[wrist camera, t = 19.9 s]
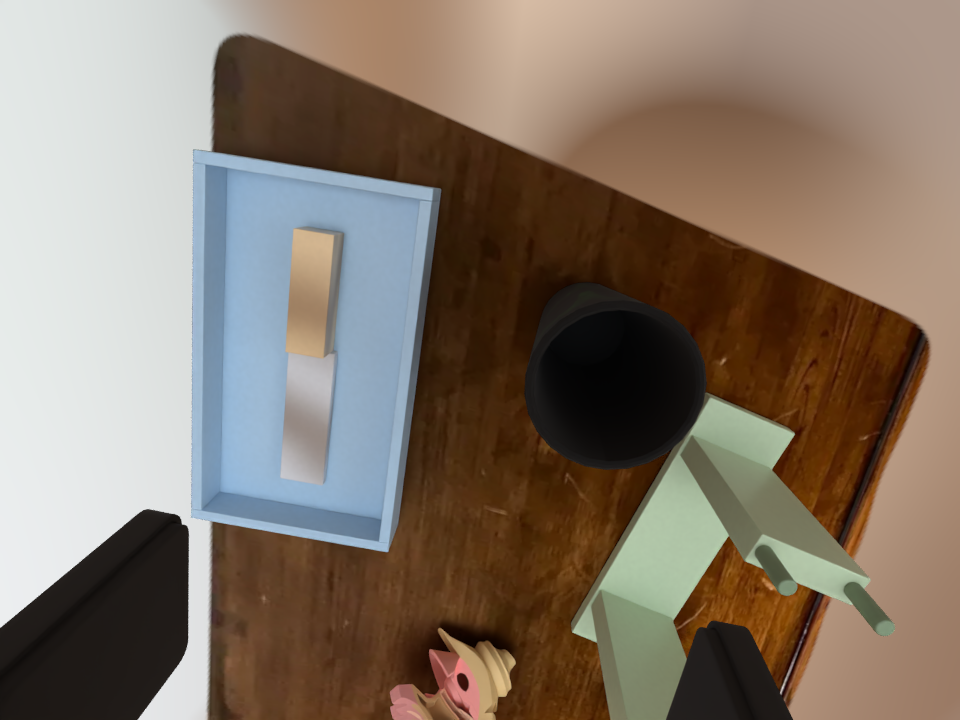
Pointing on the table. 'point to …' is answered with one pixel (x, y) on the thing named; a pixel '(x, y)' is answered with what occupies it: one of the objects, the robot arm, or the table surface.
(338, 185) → the tray
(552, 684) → the table surface
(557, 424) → the cup
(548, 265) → the table surface
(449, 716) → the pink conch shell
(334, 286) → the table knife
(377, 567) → the table surface
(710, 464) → the rack
